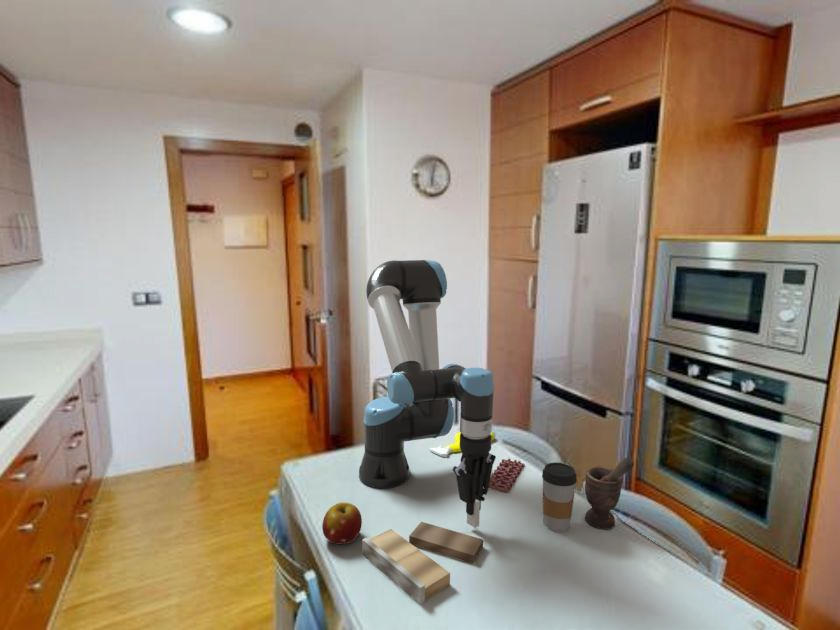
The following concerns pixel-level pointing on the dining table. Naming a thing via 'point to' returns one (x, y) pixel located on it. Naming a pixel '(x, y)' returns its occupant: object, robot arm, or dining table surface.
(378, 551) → the plank row
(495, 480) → the chocolate bar
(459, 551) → the walnut plank
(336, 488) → the dining table surface
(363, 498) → the dining table surface
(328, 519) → the fruit
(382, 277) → the robot arm
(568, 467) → the coffee cup
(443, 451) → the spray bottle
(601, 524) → the mortar and pestle
